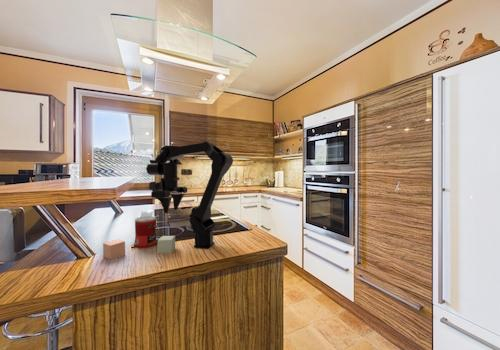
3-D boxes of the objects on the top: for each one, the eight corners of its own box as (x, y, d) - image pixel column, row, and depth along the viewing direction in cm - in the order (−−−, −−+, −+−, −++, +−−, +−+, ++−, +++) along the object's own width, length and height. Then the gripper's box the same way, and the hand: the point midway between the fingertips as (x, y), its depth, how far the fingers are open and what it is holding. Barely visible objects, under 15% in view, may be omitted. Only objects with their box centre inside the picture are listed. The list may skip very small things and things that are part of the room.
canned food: (151, 248, 86) (150, 220, 85) (131, 248, 86) (130, 220, 86) (159, 241, 94) (159, 216, 93) (141, 241, 94) (141, 216, 93)
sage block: (175, 248, 86) (175, 235, 86) (171, 253, 81) (171, 240, 81) (162, 248, 86) (162, 236, 86) (157, 253, 81) (157, 240, 81)
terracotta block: (125, 254, 80) (124, 241, 79) (110, 259, 75) (110, 245, 75) (117, 252, 82) (117, 239, 82) (103, 256, 78) (103, 243, 78)
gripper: (166, 174, 104) (166, 207, 104) (138, 176, 85) (139, 215, 86) (187, 174, 101) (188, 207, 102) (164, 176, 83) (164, 216, 84)
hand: (171, 211), depth 93 cm, fingers open, 7 cm apart
